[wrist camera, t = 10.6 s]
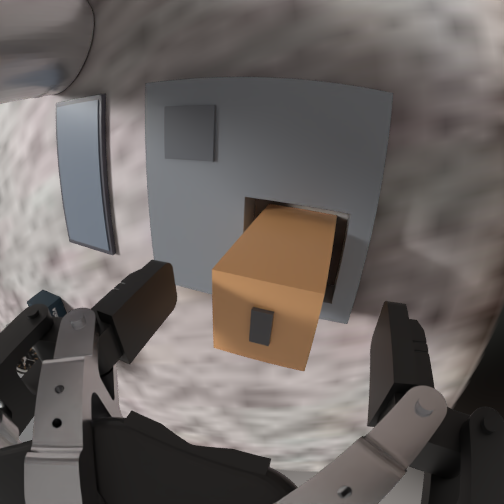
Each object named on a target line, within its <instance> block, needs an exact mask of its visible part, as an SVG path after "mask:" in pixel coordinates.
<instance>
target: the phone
mask: <svg viewBox="0 0 504 504" xmlns="http://www.w3.org/2000/svg"><path fill="white" fill-rule="evenodd" d="M105 111H106V94H99V95H94V96H88V97H83V98H77V99H72V100H68V101H63V102H59V103H56V138H57V154H58V166H59V176H60V185H61V193H62V200H63V207H64V214H65V220H66V225H67V231H68V236H69V241H70V242H72V243H75V244H78V245H81V246H85V247H88V248H91V249H94V250H97V251H101V252H104V253H107V254H110V255H114V254H115V253H116V249H115V242H114V235H113V228H112V220H111V211H110V201H109V190H108V177H107V160H106V127H105Z"/></svg>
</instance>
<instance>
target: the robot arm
mask: <svg viewBox="0 0 504 504" xmlns="http://www.w3.org/2000/svg"><path fill="white" fill-rule="evenodd" d="M93 28H94V19H93V12H92V9H91V7H90V5H89V3H88V2H87V0H0V104H2V103H7V102H12V101H17V100H22V99H28V98H38V97H42V96H47V95H54V94H58V93H60V92H62V91H63V90H65V89H66V88H67V87H68V86H69V85H70V84H71V83H72V82H73V80H74V79H75V78H76V76H77V75H78V73H79V71H80V70H81V68H82V66H83V64H84V62H85V60H86V57H87V54H88V51H89V49H90V45H91V41H92V37H93ZM176 302H177V292H176V285H175V279H174V272H173V266H172V264H171V263H168V262H163V261H158V260H151V261H150V262H149V263H148V264H146V265H145V266H144V267H143V268H142V269H140V270H138V271H135V272H133V273H131V274H129V275H128V276H127V277H126V278H125V279H123V280H122V281H121V283H119V284H118V285H117V286H116V287H114V289H112V290H111V291H110V292H109V293H108V294H107V295H106V296H105V297H103V298H102V299H101V300H100V301H99V302H98V303H97V304H96V305H95V306H94V307H93V308H91V309H89V308H77V309H74V310H72V311H70V312H68V313H67V314H66V315H65V316H64V317H55V316H51V314H50V312H49V309H48V307H47V306H46V305H44V304H34V305H31V306H29V307H28V308H26V309H25V310H24V311H23V312H22V313H20V314H19V315H18V316H17V317H16V318H15V319H14V320H13V321H12V322H11V323H10V324H9V325H8V326H7V327H6V328H5V329H4V330H3V331H2V332H0V504H378V503H379V502H380V501H381V500H382V499H383V498H384V497H385V496H386V495H387V494H388V493H389V492H390V491H391V490H392V489H393V487H395V485H396V484H397V483H398V482H399V481H400V480H401V479H402V477H403V476H404V475H405V473H406V472H407V470H406V469H407V468H408V467H412V468H415V469H418V470H421V471H424V482H423V491H422V500H421V504H504V421H503V418H502V417H501V415H500V414H499V413H498V412H497V411H496V410H494V409H492V408H489V407H481V408H478V409H477V410H476V411H474V412H473V414H472V415H471V416H470V415H467V414H464V413H461V412H458V411H455V410H453V409H450V408H449V407H447V403H446V401H445V398H444V397H443V395H442V394H441V393H440V392H439V391H437V390H436V389H435V388H434V382H433V375H432V369H431V363H430V357H429V354H428V347H427V344H426V337H425V332H424V330H423V328H422V327H421V325H420V324H419V323H418V321H417V320H412V319H409V317H408V311H407V306H406V304H402V303H395V302H389V301H385V302H384V305H383V307H382V310H381V313H380V316H379V319H378V322H377V325H376V328H375V331H374V334H373V337H372V342H371V349H370V390H369V409H368V423H367V426H370V427H374V428H373V429H372V430H371V431H370V432H369V433H368V434H367V435H366V436H364V437H363V436H362V437H360V438H359V439H358V440H357V441H355V442H354V443H353V444H352V445H351V446H350V447H349V448H347V449H346V450H345V451H344V452H343V453H342V454H340V455H339V456H338V457H337V458H336V459H335V460H333V461H332V462H331V463H330V464H328V465H327V466H326V467H325V468H323V469H322V470H321V471H320V472H318V473H317V474H316V475H314V476H313V477H312V478H310V479H309V480H308V481H307V482H305V483H304V484H302V485H301V486H299V487H297V486H296V485H295V484H294V483H293V482H292V481H291V480H290V479H288V478H287V477H286V476H285V475H283V474H281V473H280V472H278V471H276V470H274V469H272V468H270V462H271V459H270V458H266V457H262V456H258V455H254V454H250V453H246V452H242V451H239V450H235V449H227V448H215V447H205V446H196V445H192V444H189V443H188V442H186V441H185V440H183V439H182V438H180V437H179V436H177V435H176V434H175V433H173V432H172V431H170V430H169V429H168V428H166V427H165V426H164V425H162V424H161V423H158V422H156V421H154V420H151V419H149V418H147V417H145V416H142V415H140V414H138V413H136V412H134V411H131V412H130V414H129V415H128V416H127V418H123V417H122V414H121V411H120V407H119V396H118V380H117V367H116V365H115V364H116V362H117V361H118V360H121V361H123V362H125V363H128V364H130V363H131V362H132V361H133V360H134V358H135V357H136V356H137V354H138V353H139V352H140V351H141V349H142V348H143V347H144V346H145V344H146V343H147V342H148V341H149V339H150V338H151V337H152V336H153V334H154V333H155V332H156V331H157V329H158V328H159V327H160V326H161V324H162V323H163V322H164V321H165V320H166V318H167V317H168V316H169V315H170V313H171V312H172V311H173V310H174V308H175V305H176ZM32 347H33V348H34V350H35V352H36V353H37V355H38V357H39V358H38V359H37V361H36V362H35V363H34V364H33V365H32V366H31V367H30V368H29V370H28V371H27V372H26V373H25V374H24V375H23V377H22V378H20V377H19V376H18V374H17V364H18V363H19V361H20V360H21V359H22V358H23V357H24V356H25V355H26V354H27V353H28V351H29V350H30V349H31V348H32ZM33 417H34V426H33V438H32V440H31V441H27V442H23V443H22V442H21V441H20V440H19V436H20V435H21V433H22V432H23V430H24V429H25V428H26V426H27V425H28V424H29V422H30V421H31V419H32V418H33Z"/></svg>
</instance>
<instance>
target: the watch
mask: <svg viewBox="0 0 504 504" xmlns="http://www.w3.org/2000/svg"><path fill="white" fill-rule="evenodd" d="M27 304H28V306H31V305H34V304H44V305H46V306H47V307H48V309H49V312H50V314H51V316H55V317H64V316H65V315H66V314H67V313H66V311H65V308H64V306H63V303H62V300H61V298H60V297H59V296H56V295H54V294H51V293H49V292H47V291H45V290H42V291H40V292H39V293H38V294H36V295H35V296H34V297H32V298H31V299H30V300H29V301H27ZM9 324H10V323H9ZM9 324H7V325H6V327H7V326H8V325H9ZM6 327H5V328H6ZM5 328H4V329H5ZM4 329H2V330H1V331H0V332H2V331H3V330H4ZM38 358H39V357H38V355H37V353H36V352H35V350H34V348H33V347H32V348H31V349H30V350H29V351H28V353H27V354H26V355H25V356H24V357H23V358H22V359H21V360H20V361H19V363H18V364H17V372H18V373H20V374H25V373H26V372H27V371H28V370H29V368H30V367H31V366H32V365H33V364H34V363H35V362H36V361H37V359H38Z"/></svg>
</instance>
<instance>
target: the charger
mask: <svg viewBox="0 0 504 504" xmlns="http://www.w3.org/2000/svg"><path fill="white" fill-rule="evenodd" d="M336 219H337V215H332V214H326V213H321V212H316V211H310V210H305V209H299V208H293V207H287V206H281V205H275V204H268V205H267V206H266V208H265V209H264V210H263V211H262V212H261V213H260V214H259V216H258V217H257V218H256V219H255V220H254V221H253V222H252V224H251V225H250V226H249V227H248V228H247V229H246V230H245V232H244V233H243V234H242V235H241V236H240V237H239V239H238V240H237V241H236V242H235V243H234V244H233V245H232V247H231V248H230V249H229V250H228V251H227V252H226V254H225V255H224V256H223V257H222V258H221V259H220V260H219V262H218V263H217V264H216V265H215V266H214V267H213V269H212V304H213V340H214V348H217V349H220V350H223V351H227V352H230V353H234V354H237V355H241V356H244V357H248V358H252V359H255V360H259V361H263V362H267V363H271V364H275V365H279V366H283V367H287V368H292V369H296V370H300V371H305V367H306V364H307V360H308V357H309V353H310V350H311V346H312V342H313V339H314V335H315V331H316V327H317V323H318V319H319V315H320V311H321V307H322V303H323V299H324V295H325V290H326V284H327V278H328V272H329V266H330V260H331V254H332V247H333V240H334V233H335V226H336Z"/></svg>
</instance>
